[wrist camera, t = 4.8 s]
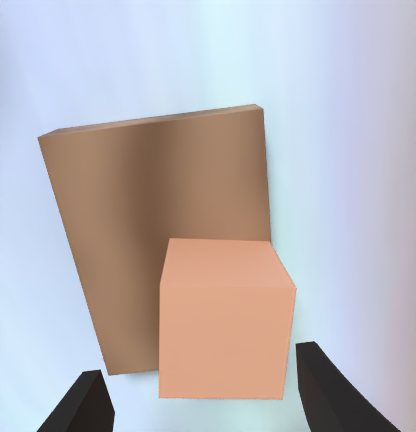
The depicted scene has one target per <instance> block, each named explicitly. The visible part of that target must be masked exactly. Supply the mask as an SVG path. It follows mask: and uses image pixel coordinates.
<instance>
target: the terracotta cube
mask: <svg viewBox="0 0 416 432" xmlns="http://www.w3.org/2000/svg"><path fill="white" fill-rule="evenodd" d="M295 296H296V287H295V285H294V283H293V281H292V280H291V278H290V276H289V274H288V273H287V271H286V269H285V268H284V266H283V264H282V262H281V261H280V259H279V257H278V255H277V254H276V252H275V250H274V249H273V247H272V245H271V243H270V242H269V241H242V240H211V239H180V238H170V239H169V244H168V249H167V253H166V258H165V263H164V268H163V272H162V277H161V282H160V326H159V398H197V399H277V400H282V399H283V391H284V383H285V375H286V367H287V359H288V351H289V344H290V336H291V328H292V320H293V312H294V304H295Z"/></svg>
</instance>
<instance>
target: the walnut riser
mask: <svg viewBox="0 0 416 432" xmlns="http://www.w3.org/2000/svg"><path fill="white" fill-rule="evenodd" d="M37 138H38V141H39V145H40V148H41V151H42V155H43V158H44V161H45V165H46V168H47V171H48V175H49V178H50V181H51V185H52V188H53V191H54V195H55V198H56V202H57V205H58V208H59V212H60V215H61V218H62V222H63V225H64V228H65V232H66V235H67V238H68V242H69V245H70V248H71V252H72V255H73V258H74V262H75V265H76V268H77V272H78V275H79V278H80V282H81V285H82V288H83V292H84V295H85V298H86V302H87V305H88V309H89V312H90V315H91V319H92V322H93V325H94V329H95V332H96V335H97V339H98V342H99V345H100V349H101V352H102V355H103V359H104V362H105V365H106V369H107V372H108V375H109V376H110V375H119V374H128V373H137V372H146V371H155V370H159V326H160V282H161V277H162V272H163V268H164V263H165V258H166V253H167V249H168V244H169V239H170V238H180V239H211V240H242V241H269V242H270V243H271V233H270V215H269V198H268V181H267V164H266V147H265V130H264V112H263V108H261V107H259V106H257V105H255V104H252V105H244V106H236V107H228V108H220V109H212V110H204V111H197V112H189V113H181V114H173V115H165V116H157V117H149V118H141V119H134V120H126V121H118V122H110V123H102V124H94V125H86V126H78V127H71V128H63V129H57V130H55V131H52V132H50V133H47V134H45V135H42V136H40V137H37Z"/></svg>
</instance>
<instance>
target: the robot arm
mask: <svg viewBox="0 0 416 432" xmlns="http://www.w3.org/2000/svg"><path fill="white" fill-rule="evenodd" d="M296 358H297V374H298V389H299V393H300V397H301V401H302V404H303V408H304V412H305V415H306V419H307V422H308V425H309V427H310V430H311V432H401V431H400V430H398V429H397V428H396V427H395V426H394V425H393V424H392V423H391V422H389V421H388V420H387V419H386V418H385V417H384V416H383V415H382V414H381V413H380V412H379V411H378V410H377V409H376V408H375V407H373V406H372V405H371V404H370V403H369V402H368V401H367V400H366V399H365V398H364V397H363V396H362V395H361V394H360V392H359V391H358V390H357V389H356V388H355V387H354V386H353V385H352V384H351V383H350V382H349V381H348V380H347V379H346V378H345V377H344V375H343V374H342V373H341V372H340V371H339V370H338V369H337V367H336V366H335V365H334V364H333V363H332V362H331V360H330V359H329V358H328V357H327V356H326V354H325V353H324V352H323V351H322V349H321V348H320V347H319V346H318V344H317V343H315V342H314V341H313V342H305V343H297V344H296ZM114 416H115V411H114V408H113V405H112V402H111V399H110V396H109V393H108V390H107V387H106V384H105V381H104V378H103V375H102V372H101V370H93V371H85V372H82V374H81V375H80V376H79V378H78V379H77V380H76V381H75V383H74V384H73V385H72V387H71V388H70V389H69V391H68V392H67V393H66V394H65V396H64V397H63V398H62V400H61V401H60V402H59V404H58V405H57V406H56V408H55V409H54V410H53V411H52V413H51V414H50V415H49V417H48V418H47V419H46V420H45V422H44V423H43V424H42V425H41V427H40V428H39V429H38V430H37V432H113V424H114Z"/></svg>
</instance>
